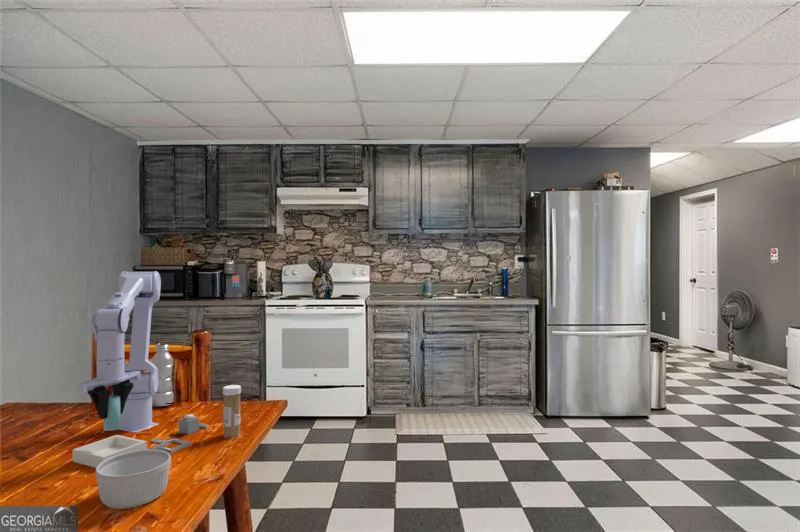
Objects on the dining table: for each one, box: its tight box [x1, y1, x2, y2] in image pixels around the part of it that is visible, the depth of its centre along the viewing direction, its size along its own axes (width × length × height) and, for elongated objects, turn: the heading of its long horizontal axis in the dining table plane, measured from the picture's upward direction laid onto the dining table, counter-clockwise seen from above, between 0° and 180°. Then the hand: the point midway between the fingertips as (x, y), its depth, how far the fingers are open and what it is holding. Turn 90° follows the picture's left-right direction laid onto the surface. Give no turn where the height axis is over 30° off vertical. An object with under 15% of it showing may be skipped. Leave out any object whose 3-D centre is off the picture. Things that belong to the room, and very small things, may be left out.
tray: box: [72, 434, 148, 469], centre depth 118 cm, size 11×11×3 cm
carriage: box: [178, 413, 200, 435], centre depth 135 cm, size 4×4×4 cm
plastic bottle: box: [150, 343, 175, 408], centre depth 160 cm, size 6×7×20 cm
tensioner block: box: [142, 437, 193, 454], centre depth 120 cm, size 6×14×2 cm, turn 155°
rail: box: [151, 422, 210, 444], centre depth 132 cm, size 5×15×1 cm, turn 155°
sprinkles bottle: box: [222, 384, 242, 439], centre depth 132 cm, size 5×5×14 cm
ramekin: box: [94, 448, 172, 510], centre depth 98 cm, size 13×13×7 cm
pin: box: [103, 394, 120, 432], centre depth 118 cm, size 3×3×8 cm
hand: (110, 415), depth 118 cm, fingers closed on pin, 3 cm apart
